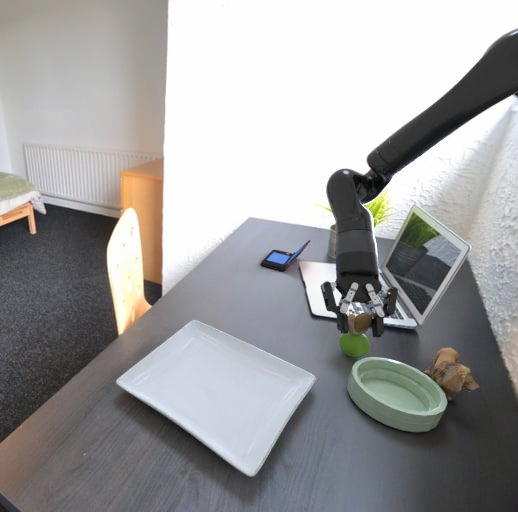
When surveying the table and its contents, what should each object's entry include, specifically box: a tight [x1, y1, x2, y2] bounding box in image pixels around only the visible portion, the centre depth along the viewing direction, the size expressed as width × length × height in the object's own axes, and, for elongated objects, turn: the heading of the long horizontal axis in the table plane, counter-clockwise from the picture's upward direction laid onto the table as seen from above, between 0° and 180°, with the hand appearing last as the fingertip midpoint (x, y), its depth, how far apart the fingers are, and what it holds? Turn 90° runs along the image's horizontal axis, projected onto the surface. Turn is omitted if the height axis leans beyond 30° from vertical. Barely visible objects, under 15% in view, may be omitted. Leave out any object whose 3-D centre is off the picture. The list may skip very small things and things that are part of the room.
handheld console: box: [260, 239, 311, 272], centre depth 115 cm, size 12×11×7 cm
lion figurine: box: [423, 347, 480, 401], centre depth 68 cm, size 15×5×9 cm, turn 150°
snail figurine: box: [338, 308, 373, 358], centre depth 75 cm, size 5×6×12 cm
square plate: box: [115, 319, 317, 478], centre depth 69 cm, size 27×27×4 cm
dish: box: [346, 356, 448, 433], centre depth 66 cm, size 14×14×4 cm
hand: (360, 334), depth 73 cm, fingers closed on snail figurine, 5 cm apart
